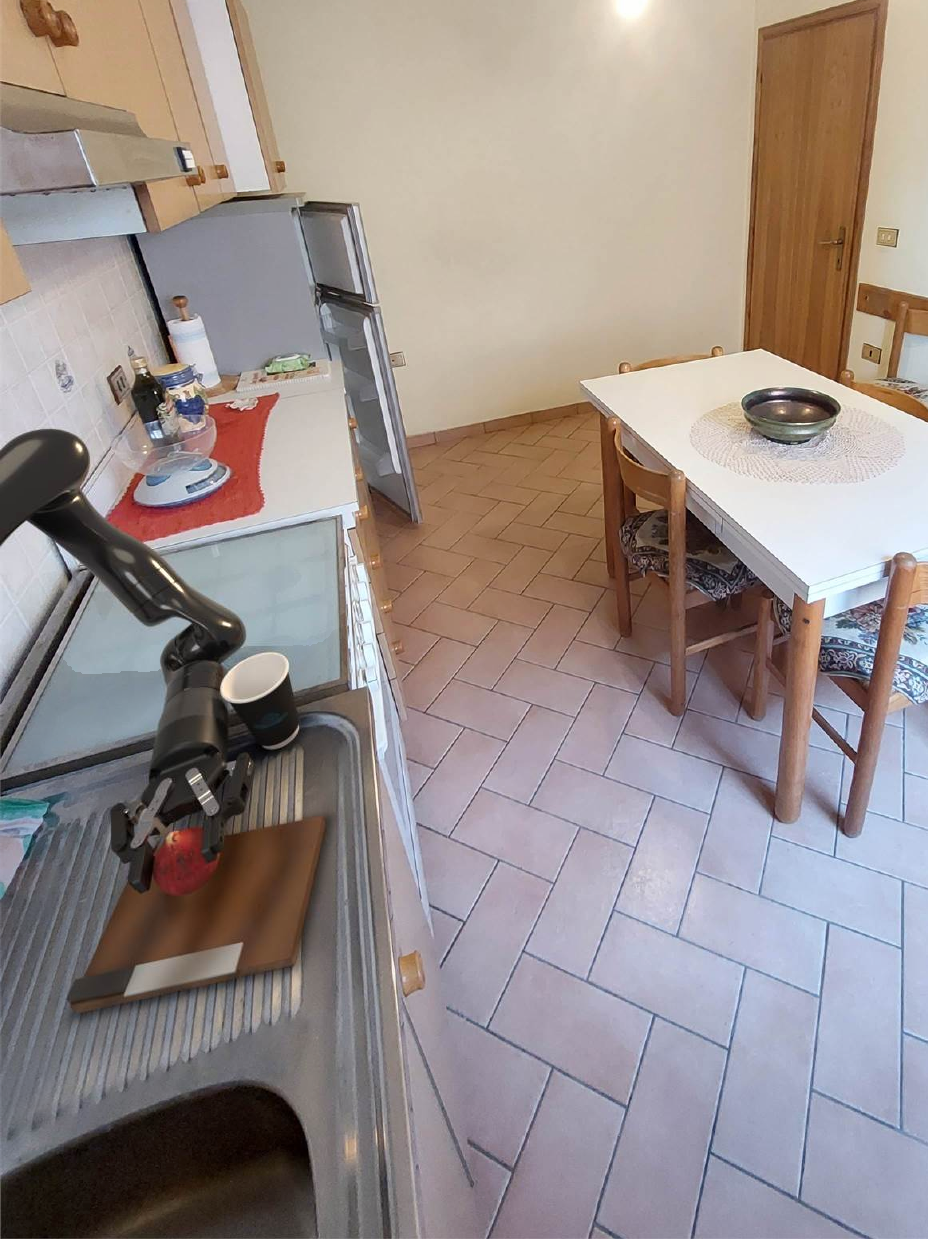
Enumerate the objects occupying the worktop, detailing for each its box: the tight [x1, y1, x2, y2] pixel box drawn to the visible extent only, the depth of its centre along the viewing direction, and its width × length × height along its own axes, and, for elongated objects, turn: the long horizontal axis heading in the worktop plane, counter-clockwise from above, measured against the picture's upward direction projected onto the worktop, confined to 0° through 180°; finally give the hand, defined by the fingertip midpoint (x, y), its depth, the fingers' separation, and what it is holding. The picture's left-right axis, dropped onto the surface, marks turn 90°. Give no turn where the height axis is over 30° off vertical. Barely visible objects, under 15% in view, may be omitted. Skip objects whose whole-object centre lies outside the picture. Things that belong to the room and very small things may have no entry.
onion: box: [153, 826, 220, 896], centre depth 66 cm, size 6×6×8 cm
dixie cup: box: [220, 652, 300, 750], centre depth 83 cm, size 8×8×11 cm
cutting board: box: [65, 815, 327, 1015], centre depth 66 cm, size 20×14×2 cm
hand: (175, 872), depth 63 cm, fingers closed on onion, 5 cm apart
